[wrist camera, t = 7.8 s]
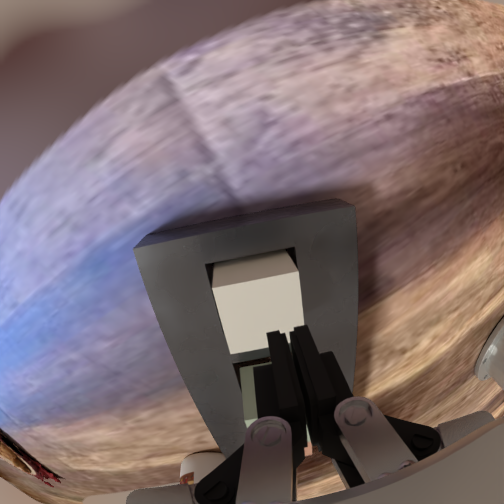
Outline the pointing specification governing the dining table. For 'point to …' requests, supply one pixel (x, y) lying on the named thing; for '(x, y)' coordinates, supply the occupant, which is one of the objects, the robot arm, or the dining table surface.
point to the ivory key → (257, 298)
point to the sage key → (251, 395)
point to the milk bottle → (199, 466)
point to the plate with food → (24, 462)
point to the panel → (205, 309)
